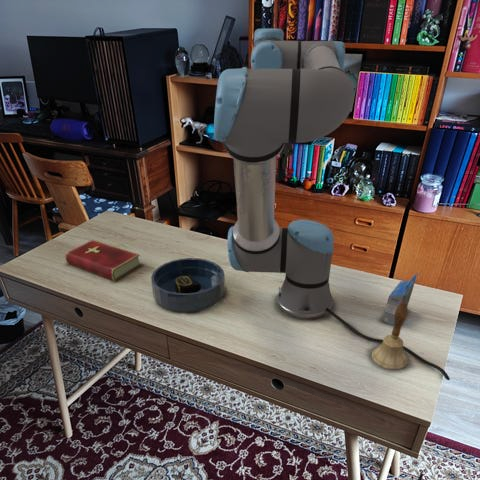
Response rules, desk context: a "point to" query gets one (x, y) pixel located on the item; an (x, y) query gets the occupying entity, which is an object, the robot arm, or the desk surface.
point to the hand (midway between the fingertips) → (264, 174)
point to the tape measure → (186, 284)
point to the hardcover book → (103, 259)
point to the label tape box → (398, 298)
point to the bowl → (201, 271)
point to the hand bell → (393, 344)
